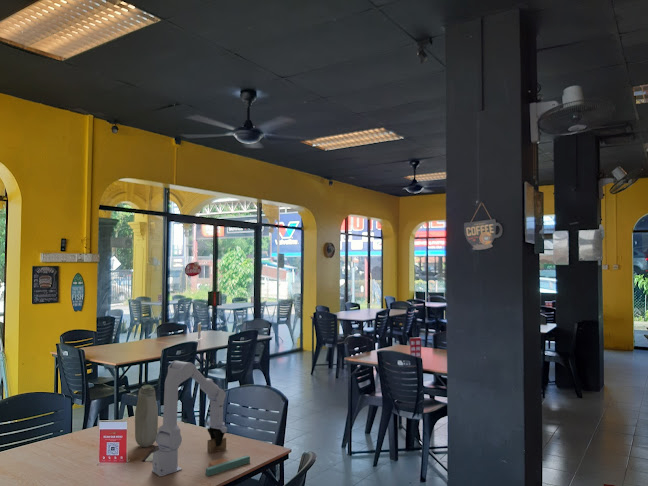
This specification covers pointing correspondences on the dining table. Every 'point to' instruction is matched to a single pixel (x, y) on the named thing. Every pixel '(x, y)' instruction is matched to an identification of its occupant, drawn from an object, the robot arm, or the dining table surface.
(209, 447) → the tall cardboard box
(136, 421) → the olive grey vase
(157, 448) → the chocolate bar
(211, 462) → the tile
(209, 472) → the rail
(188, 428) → the dining table surface
